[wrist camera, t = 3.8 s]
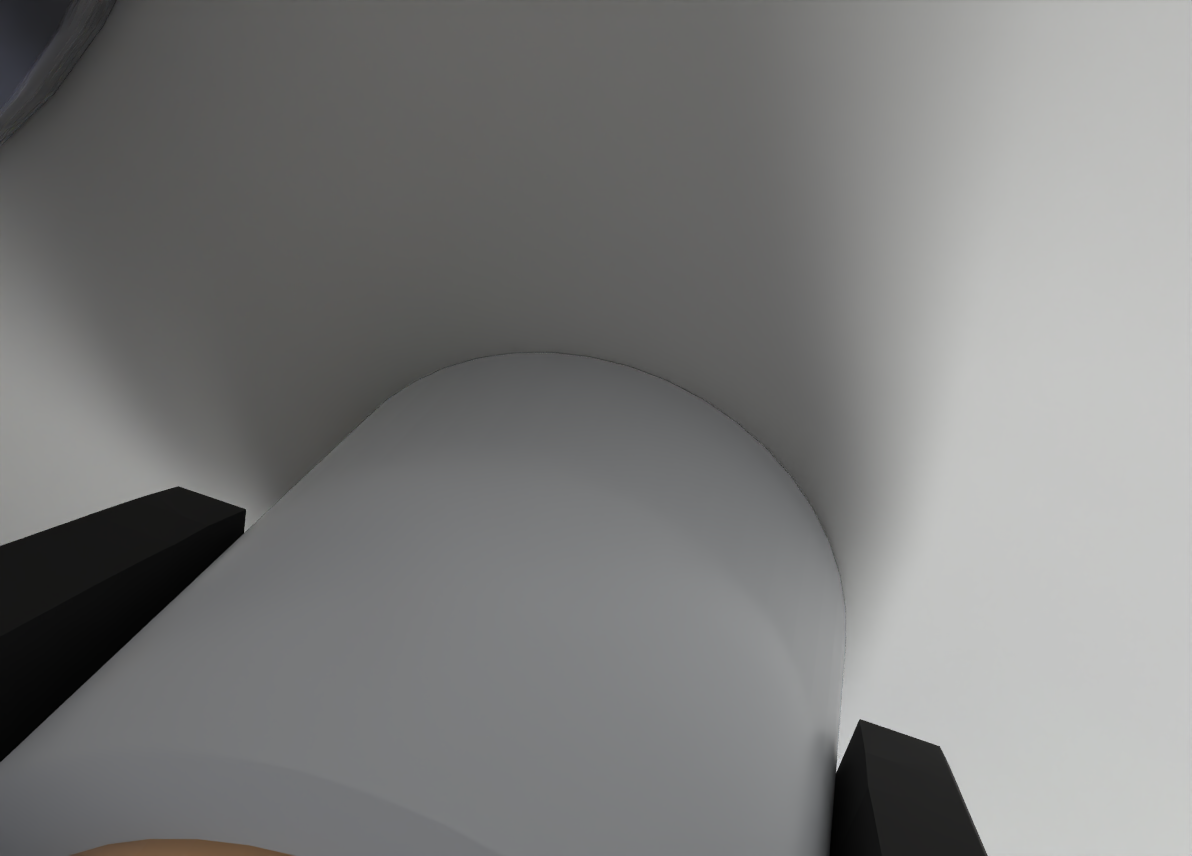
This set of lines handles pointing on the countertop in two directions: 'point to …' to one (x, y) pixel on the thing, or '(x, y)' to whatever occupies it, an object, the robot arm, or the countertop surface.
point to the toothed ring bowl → (41, 51)
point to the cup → (477, 648)
